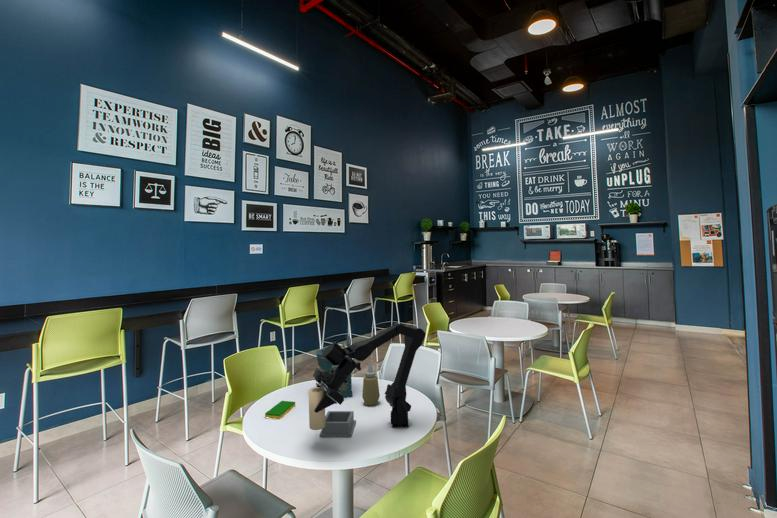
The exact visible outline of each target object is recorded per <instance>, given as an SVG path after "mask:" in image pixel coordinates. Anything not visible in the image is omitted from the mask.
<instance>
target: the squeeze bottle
mask: <svg viewBox="0 0 777 518" xmlns="http://www.w3.org/2000/svg"><path fill="white" fill-rule="evenodd" d="M378 379H379V378H378V376H377V375H376V371H374V369H373V365H372V364H371V363H369V364H368V368H367V371H365V376H364V377H363V382H362V395H361V396H362V399H363V402H364V405H365V406H370V407H371V406H372V407H374V406H376V405H378V403H379V399H380V396H381V395H380V386H379V380H378Z"/></svg>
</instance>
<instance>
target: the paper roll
mask: <svg viewBox="0 0 777 518" xmlns="http://www.w3.org/2000/svg"><path fill="white" fill-rule="evenodd" d="M323 391H324V388H321V387H313V388H310V389H308V417H309V419H308V423H309V425H308V427H309V429H310V430H312V431H321V430H322V429H323V428H324V427H325V416H326V408H325V409H323V410H321V411H319V412H317V413H316V412H315V411H314V410H315V409H316V407H317V405H318V404H319V402H320V401H321V399H322V397H323ZM324 392H325V391H324Z"/></svg>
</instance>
